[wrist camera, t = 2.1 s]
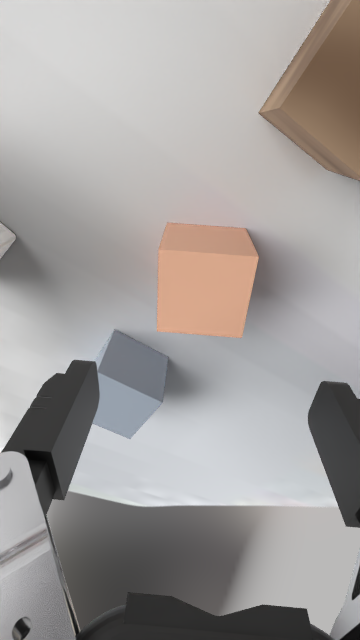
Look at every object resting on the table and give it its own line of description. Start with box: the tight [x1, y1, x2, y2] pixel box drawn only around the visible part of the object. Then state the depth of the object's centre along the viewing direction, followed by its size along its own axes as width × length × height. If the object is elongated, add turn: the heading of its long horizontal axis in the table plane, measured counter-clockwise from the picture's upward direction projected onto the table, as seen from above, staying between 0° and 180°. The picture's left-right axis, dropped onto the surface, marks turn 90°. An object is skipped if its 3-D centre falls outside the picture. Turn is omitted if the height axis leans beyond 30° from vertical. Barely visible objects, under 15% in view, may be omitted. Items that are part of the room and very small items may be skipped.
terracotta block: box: [157, 223, 259, 338], centre depth 18 cm, size 5×5×5 cm
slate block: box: [93, 329, 168, 439], centre depth 24 cm, size 5×5×5 cm
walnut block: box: [259, 0, 360, 181], centre depth 13 cm, size 5×5×5 cm
